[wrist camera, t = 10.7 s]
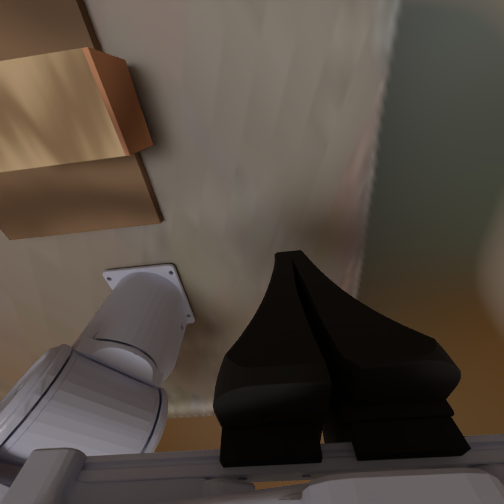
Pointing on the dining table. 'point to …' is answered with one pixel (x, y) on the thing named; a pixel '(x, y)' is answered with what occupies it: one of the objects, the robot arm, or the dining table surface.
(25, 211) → the walnut board
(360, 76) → the dining table surface
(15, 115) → the oak block
